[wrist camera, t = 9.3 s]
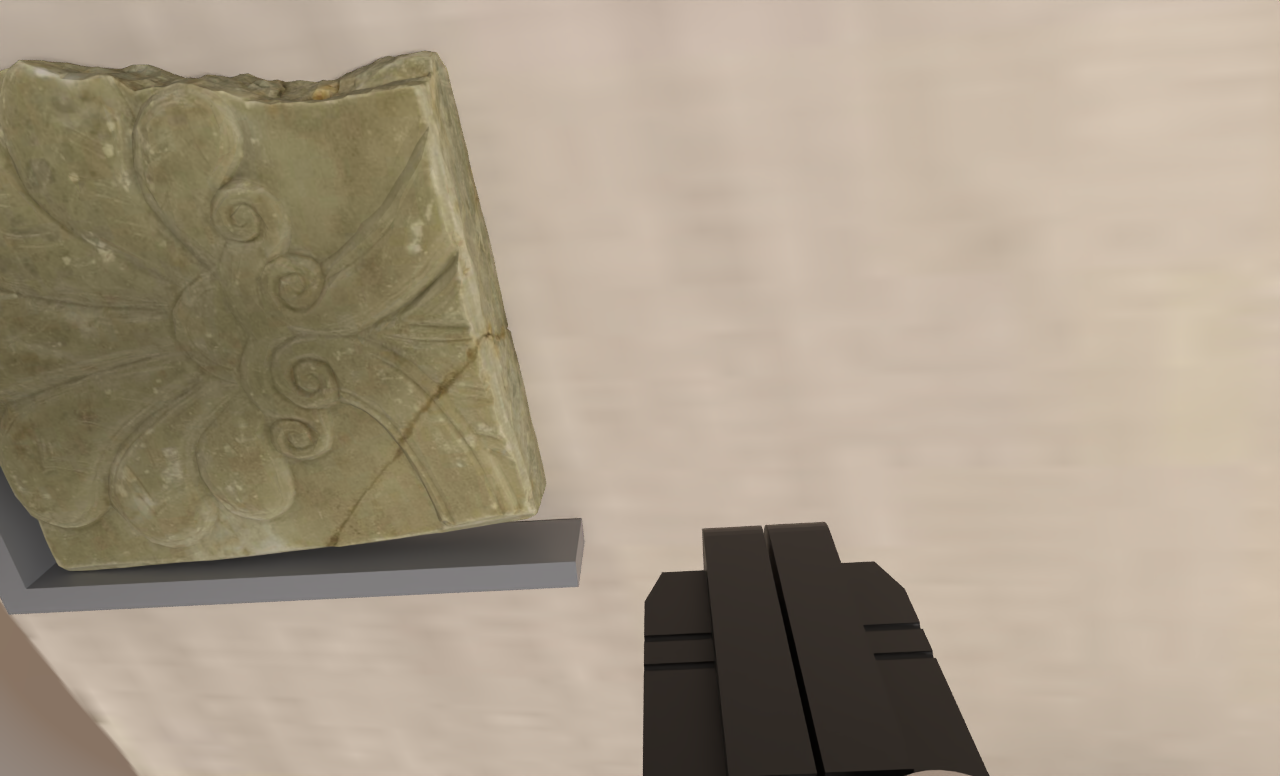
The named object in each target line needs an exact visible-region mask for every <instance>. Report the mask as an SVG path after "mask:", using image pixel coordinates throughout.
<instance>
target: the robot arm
mask: <svg viewBox="0 0 1280 776" xmlns="http://www.w3.org/2000/svg"><path fill="white" fill-rule="evenodd" d="M702 538H703V561H704V570H702V571H682V572H662V574H661V575H660V577H659V579H658V580H657V582H656V584H655V585H654V587H653V589H652V590H651V592H650V594H649V595H648V597H647V599H646V600H645V616H644V639H645V642H644V714H643V776H989V774H988V772H987V770H986V768H985V765H984V763H983V761H982V759H981V757H980V754H979V752H978V750H977V748H976V746H975V743H974V741H973V739H972V737H971V734H970V732H969V730H968V728H967V726H966V723H965V721H964V719H963V717H962V715H961V712H960V710H959V708H958V706H957V704H956V701H955V699H954V697H953V695H952V692H951V690H950V688H949V686H948V684H947V681H946V679H945V677H944V675H943V673H942V670H941V668H940V666H939V664H938V662H937V659H936V658H934V657H933V650H932V648H931V646H930V644H929V642H928V639H927V637H926V635H925V633H924V631H923V629H921V628H920V622H919V619H918V617H917V615H916V613H915V611H914V608H913V606H912V604H911V602H910V600H909V597H908V595H907V593H906V591H905V589H904V588H903V587H902V586H901V585H900V584H899V583H898V582H896V581H895V580H894V579H893V578H892V577H891V576H890V575H889V574H888V573H886V572H885V571H884V570H883V569H882V568H881V567H880V566H879V565H878V564H876V563H875V562H855V563H841V561H840V558H839V556H838V553H837V550H836V547H835V544H834V542H833V539H832V536H831V533H830V530H829V528H828V525H827V524H826V523H825V522H815V523H796V524H777V525H765V528H764V533H763V529H762V527H761V526H744V527H725V528H706V529H702Z"/></svg>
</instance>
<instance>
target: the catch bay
mask: <svg viewBox="0 0 1280 776" xmlns="http://www.w3.org/2000/svg"><path fill="white" fill-rule="evenodd" d="M583 550H584V534H583V525H582V519H564V520H545V521H526V522H507V523H497V524H491V525H485V526H479V527H473V528H467V529H461V530H455V531H449V532H443V533H434V534H426V535H419V536H412V537H405V538H399V539H392V540H385V541H379V542H372V543H365V544H356V545H349V546H342V547H335V546H330V547H323V548H315V549H306V550H298V551H290V552H281V553H273V554H265V555H256V556H248V557H239V558H230V559H221V560H211V561H194V562H180V563H169V564H158V565H146V566H136V567H127V568H112V569H100V570H86V571H68V570H66V569H64V568H62V567H60V566H58V564H57V562H56V560H55V558H54V556H53V554H52V552H51V550H50V548H49V546H48V544H47V542H46V539H45V537H44V534H43V532H42V529H41V526H40V523H39V521H38V520H37V519H36V518H34V517H33V516H31V515H30V513H29V512H28V511H27V510H26V508H25V507H24V506H23V505H22V503H21V502H20V501H19V500H18V499H17V497H16V496H15V495H14V493H13V491H12V489H11V487H10V485H9V483H8V481H7V479H6V477H5V475H4V472H3V470H2V468H1V466H0V598H1V600H2V602H3V604H4V606H5V608H6V610H7V612H8V614H29V613H50V612H70V611H91V610H111V609H132V608H152V607H173V606H193V605H214V604H234V603H255V602H276V601H296V600H317V599H337V598H358V597H378V596H399V595H419V594H440V593H460V592H481V591H501V590H522V589H542V588H563V587H579V580H580V573H581V565H582V557H583Z"/></svg>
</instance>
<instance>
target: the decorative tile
mask: <svg viewBox="0 0 1280 776" xmlns="http://www.w3.org/2000/svg"><path fill="white" fill-rule="evenodd" d="M507 327H508V323H507V319H506V315H505V311H504V306H503V301H502V296H501V291H500V287H499V283H498V278H497V272H496V267H495V262H494V257H493V253H492V249H491V244H490V240H489V236H488V232H487V228H486V225H485V221H484V217H483V214H482V211H481V206H480V202H479V198H478V194H477V190H476V187H475V183H474V179H473V175H472V171H471V167H470V162H469V157H468V151H467V147H466V144H465V140H464V136H463V132H462V128H461V124H460V120H459V115H458V111H457V107H456V104H455V100H454V96H453V92H452V88H451V84H450V80H449V75H448V71H447V68H446V67H445V65H444V64H443V62H442V61H441V59H440V57H439V55H438V54H437V52H430V51H421V52H417V53H413V54H406V55H400V56H397V57H392V56H387V57H384V58H381V59H378V60H377V61H375V62H374V63H373V64H371V65H368V66H364V67H362V68H359V69H357V70H355V71H353V72H350V73H347V74H345V75H343V76H342V77H340V78H339V79H336V80H328V81H326V80H322V81H320V82H310V81H302V80H297V81H293V82H284V81H280V80H274V81H267V80H264V79H260V78H257V77H255V76H253V75H250V74H240V75H238V76H235V77H232V78H229V77H224V76H216V75H205V76H203V77H201V78H200V79H199V78H184V77H181V76H178V75H174V74H172V73H170V72H168V71H165V70H162V69H160V68H157V67H154V66H150V65H131V66H129V67H126V68H124V69H109V68H100V67H86V66H80V65H75V64H71V63H62V62H47V61H41V60H19V61H18V62H16V63H15V64H14V65H12V66H11V67H10V68H7V69H4V70H2V71H0V466H1V468H2V470H3V472H4V475H5V477H6V479H7V481H8V483H9V485H10V487H11V489H12V491H13V493H14V495H15V496H16V497H17V499H18V500H19V501H20V502H21V503H22V505H23V506H24V507H25V508H26V510H27V511H28V512H29V513H30V515H31V516H33V517H34V518H36V519H37V520H38V521H39V523H40V526H41V529H42V532H43V534H44V537H45V539H46V542H47V544H48V546H49V548H50V550H51V552H52V554H53V556H54V558H55V560H56V562H57V564H58V566H60V567H62V568H64V569H66V570H68V571H86V570H100V569H112V568H127V567H136V566H146V565H158V564H169V563H180V562H194V561H211V560H221V559H230V558H239V557H248V556H256V555H265V554H273V553H281V552H290V551H298V550H306V549H315V548H323V547H330V546H335V547H342V546H349V545H356V544H365V543H372V542H379V541H385V540H392V539H399V538H405V537H412V536H419V535H426V534H434V533H443V532H449V531H455V530H461V529H467V528H473V527H479V526H485V525H491V524H497V523H504V522H511V521H517V520H523V519H528V518H530V517H532V516H534V515H536V514H537V512H538V509H539V506H540V503H541V499H542V496H543V494H544V490H545V487H546V479H545V474H544V469H543V464H542V460H541V456H540V452H539V447H538V443H537V439H536V435H535V431H534V428H533V425H532V422H531V417H530V412H529V407H528V402H527V397H526V392H525V388H524V383H523V379H522V375H521V371H520V367H519V363H518V359H517V355H516V352H515V348H514V344H513V340H512V336H511V332H510V331H509V330H508V329H507Z"/></svg>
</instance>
